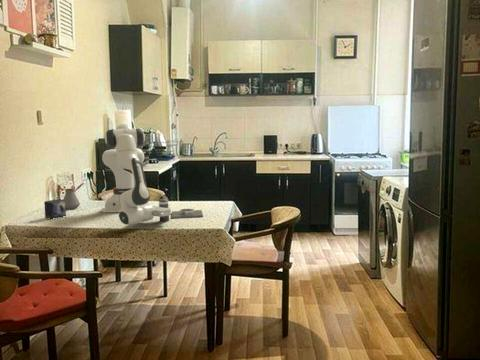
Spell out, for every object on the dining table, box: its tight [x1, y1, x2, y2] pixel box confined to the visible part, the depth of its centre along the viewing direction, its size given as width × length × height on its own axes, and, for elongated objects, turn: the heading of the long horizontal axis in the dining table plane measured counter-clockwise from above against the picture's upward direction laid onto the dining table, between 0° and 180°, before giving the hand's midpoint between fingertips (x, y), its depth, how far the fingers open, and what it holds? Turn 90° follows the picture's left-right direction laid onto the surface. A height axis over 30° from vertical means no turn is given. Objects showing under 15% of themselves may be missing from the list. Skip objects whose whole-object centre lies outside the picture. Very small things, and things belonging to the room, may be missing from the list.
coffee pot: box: [62, 182, 86, 210], centre depth 323 cm, size 21×12×15 cm, turn 162°
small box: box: [43, 198, 67, 220], centre depth 291 cm, size 11×6×10 cm, turn 148°
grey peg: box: [158, 198, 170, 223], centre depth 274 cm, size 5×5×12 cm
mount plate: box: [171, 208, 204, 220], centre depth 289 cm, size 18×16×3 cm
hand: (165, 208), depth 275 cm, fingers closed on grey peg, 5 cm apart
